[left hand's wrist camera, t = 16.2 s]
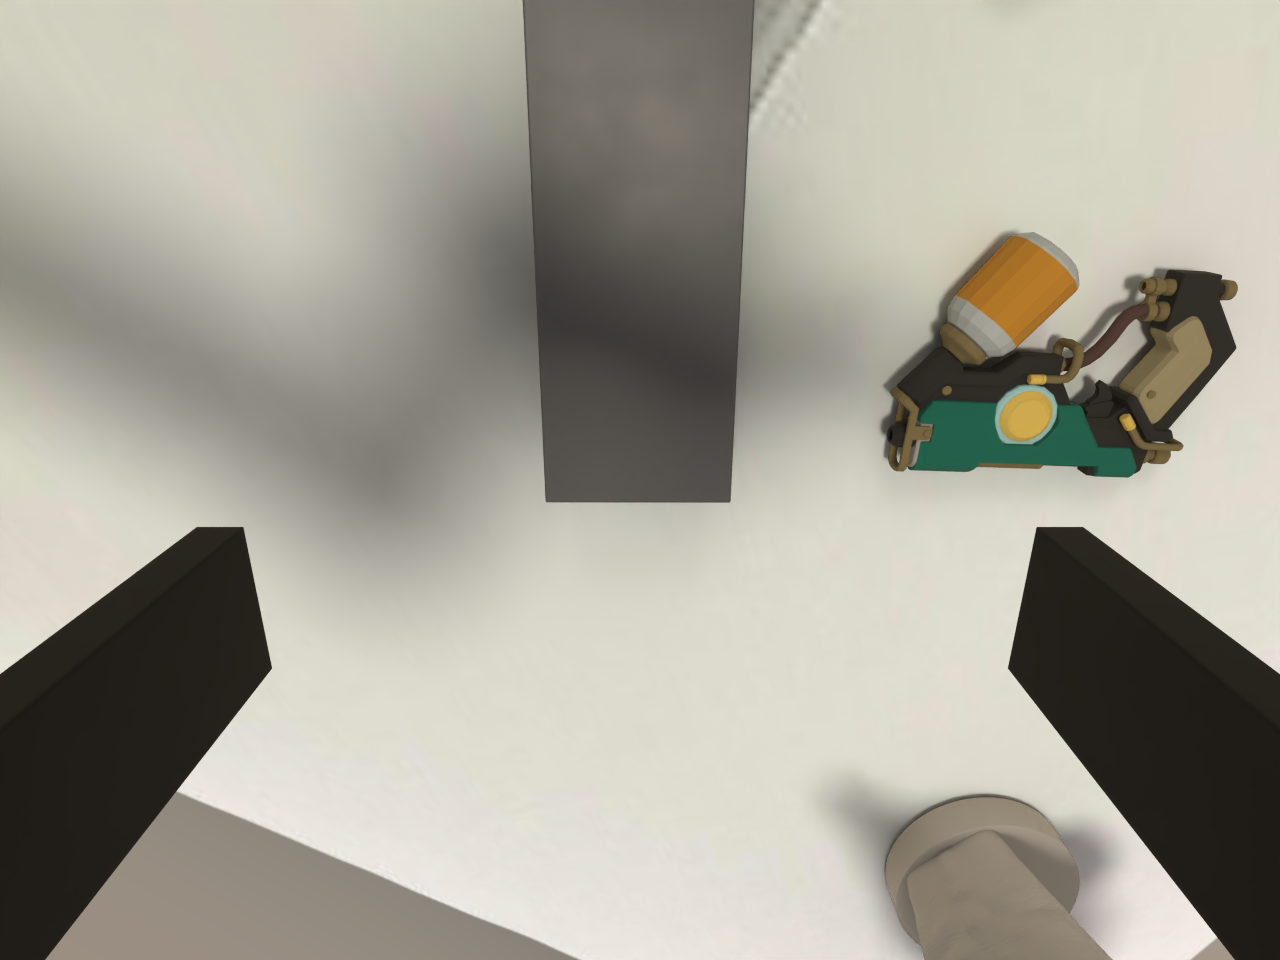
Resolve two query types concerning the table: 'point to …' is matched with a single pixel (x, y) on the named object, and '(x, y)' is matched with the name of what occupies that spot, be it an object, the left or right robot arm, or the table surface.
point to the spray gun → (1056, 373)
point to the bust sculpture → (987, 885)
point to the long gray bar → (638, 241)
